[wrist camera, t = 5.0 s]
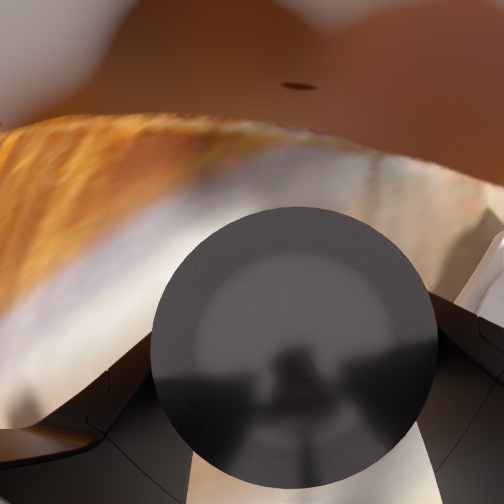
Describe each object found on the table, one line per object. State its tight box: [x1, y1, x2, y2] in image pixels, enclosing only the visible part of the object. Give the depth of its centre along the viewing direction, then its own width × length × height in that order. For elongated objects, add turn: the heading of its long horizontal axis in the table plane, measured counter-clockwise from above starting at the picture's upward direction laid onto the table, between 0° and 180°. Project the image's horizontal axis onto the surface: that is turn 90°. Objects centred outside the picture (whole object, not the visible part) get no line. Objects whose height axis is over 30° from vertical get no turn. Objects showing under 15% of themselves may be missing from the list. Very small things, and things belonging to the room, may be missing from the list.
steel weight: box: [150, 207, 438, 489], centre depth 10 cm, size 5×5×10 cm
